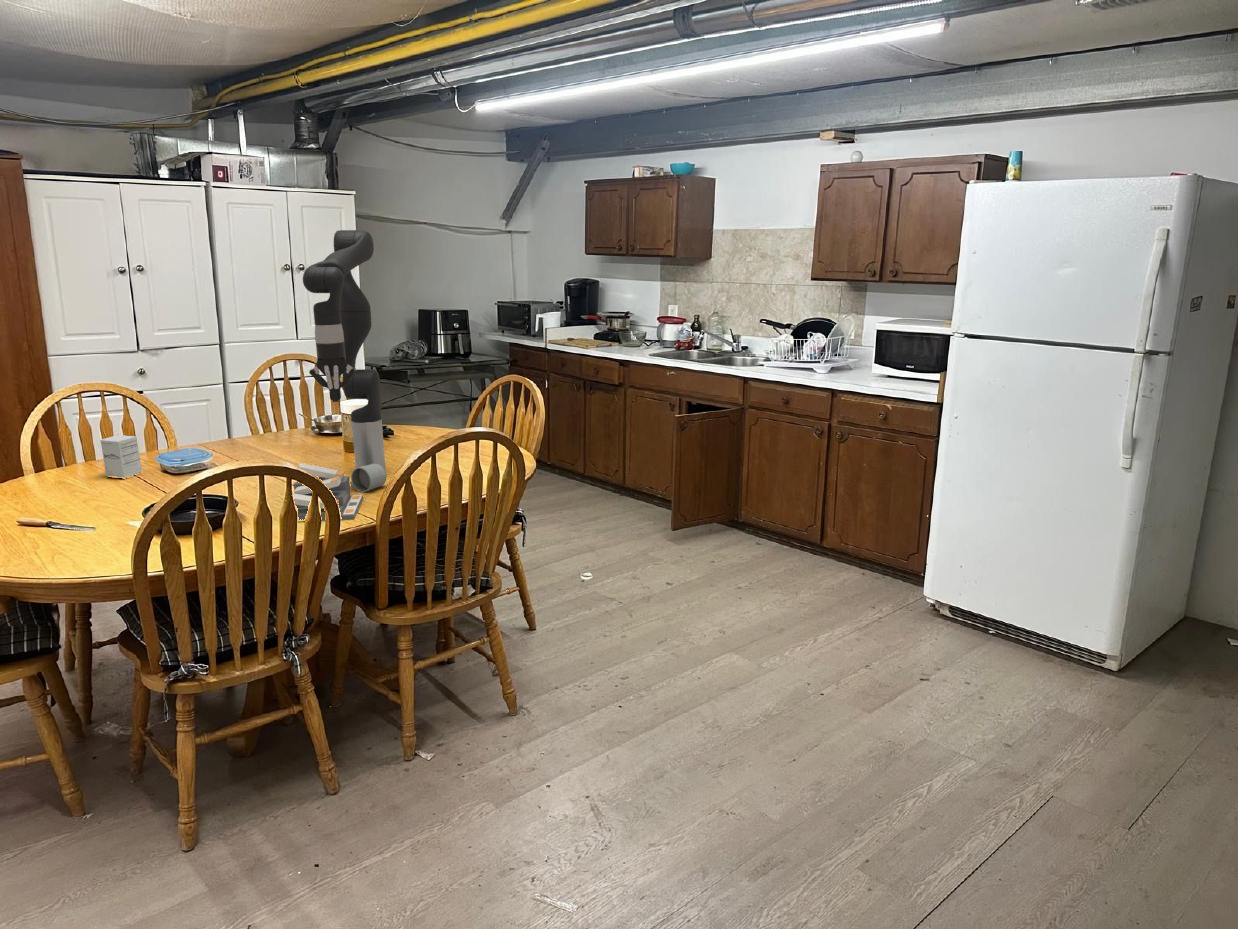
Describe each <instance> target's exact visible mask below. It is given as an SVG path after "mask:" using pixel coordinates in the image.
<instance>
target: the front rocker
mask: <svg viewBox="0 0 1238 929" xmlns="http://www.w3.org/2000/svg"><path fill="white" fill-rule="evenodd" d="M292 495H294V501H295V505H302V506H308V505H309V503H310V500H311V496H307V495H300V494H294V493H292ZM336 501H337V503H338V502H339V500H337V499H336ZM319 503H320V508H323V504H322V502H321V500H320V501H319ZM323 509H324V508H323Z"/></svg>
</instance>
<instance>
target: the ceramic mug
mask: <svg viewBox="0 0 1238 929" xmlns="http://www.w3.org/2000/svg"><path fill="white" fill-rule="evenodd" d="M350 475H351V476H350V480H351V481H349V483H350V488H354V489H355V490H356V491H358V492H359V493H367V492H369V491H372V490H375V489H377V488H379V487H382V486H383V485H385V483H386V482H387V479H388V478H387V471H385V469H384V468H383V467H382V466H381V465H379V464H370V465H366V466H362V467H357V468H356V467H355V468H354V469H353V470H352V473H351V474H350Z"/></svg>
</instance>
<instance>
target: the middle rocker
mask: <svg viewBox="0 0 1238 929" xmlns="http://www.w3.org/2000/svg"><path fill="white" fill-rule="evenodd" d="M322 482H323V483H325V485H326V486H327V487H328V488H333V487H337V486H339V485H340V483H341V480H340V477H339V476H337V477H333V478H331V479H327V480H323V481H322ZM309 493H312V491H311V490H310V489H309V488H308V487H306V486H300V487H297V488H296V489H295V491H294V490H293V494H300V495H305V494H309Z"/></svg>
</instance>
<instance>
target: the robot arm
mask: <svg viewBox="0 0 1238 929" xmlns="http://www.w3.org/2000/svg"><path fill="white" fill-rule="evenodd" d="M374 246H375V245H374V239H373V237H372V235H371V234H370V232H369V231H367V230H361V229H356V230H355V229H353V230H352V229H347V230H346V229H342V230H341V229H340V230H339V229H338V230H336V232H334V236H333V252H331V253H329V255H327V256H326V258H325V259H323V260H322V261H318V262H316V263H313V264H311V265H308V267H307V268H306V269H305V270H304V271H303V272H304V273H303V275H302V283H303V286H304V287H305V289H306V290H307V291H308V292H309V293H312V294H329V297H328V299H327V300H323V301H319V302H317V303H314V304H313V308H312V309H313V311H312V312H313V319H314V321H313V322H314V341H315V347H316V350H315V351H316V357H317V360H316V362H315V366H314V367H313V368H311V369H309V372H308V373H309V374H310V375H311V376H312V378H314V380H316V382H317V383H319V385H320V386H321V387H322V388H326V389H328V393H329V399H330V401H332V403H338V402H340V400H341V399H342V393H341V388H342V390H343V394H344V396H345V398H347V399H350V400H367V404H365V405H363V406H361V407H359V408H356V409H354V410H352V411H351V413H350V420H351V432H352V441H353V444H352V445H353V453H354V463H355V464H354V465H355V469H356V468H357V467H362V466H366V465H370V464H379V465H381V466H382V467H383V468H384V469H385V471H386V457H385V445H384V435H383V434H384V432H383V422H382V421H383V420H382V403H381V402H382V401H381V400H382V399H381V378H380V374H379V372H378V371H377V370H376V369H366V368H365V369H360V368H359V369H357V368H356V362H357V356H358V354H359V352H360V349H361V347H362V345H363V343H364V342H365V341H366V340H367V337H368V335H369V333H370V331H371V329H372V310H371V304H370V302H369V300H368V298H367V296H366V295H365V294H364V292H363V291H362V290H361V288H360V287H359V285H358V284H357V282H356V280H355V279H354V276H353V274H352V270H354V269H355V268H357V267H359V266H360V265H362V264H363V263H366V262H368V261H369V260H371V259H372V257H373V255H374V251H375V250H374V249H375V248H374ZM320 372H321V373H322V374H323V376H324V377H325V378H326V379H324V378H323V376H322V375H321V374H320ZM341 379H342V381H341ZM386 472H387V471H386Z"/></svg>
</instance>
